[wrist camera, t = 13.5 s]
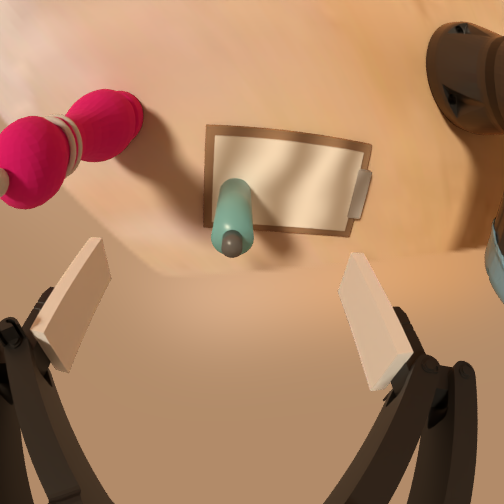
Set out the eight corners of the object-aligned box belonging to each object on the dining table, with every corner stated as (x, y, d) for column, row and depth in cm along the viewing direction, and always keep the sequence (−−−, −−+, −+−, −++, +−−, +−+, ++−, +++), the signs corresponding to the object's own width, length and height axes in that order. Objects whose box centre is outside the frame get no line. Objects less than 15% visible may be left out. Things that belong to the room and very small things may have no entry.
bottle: (244, 173, 30) (245, 223, 21) (254, 201, 32) (260, 259, 22) (214, 184, 30) (202, 237, 21) (226, 210, 32) (219, 271, 23)
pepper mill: (149, 146, 28) (46, 248, 12) (93, 151, 28) (-26, 246, 12) (147, 82, 24) (16, 109, 8) (88, 91, 24) (-54, 140, 7)
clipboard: (373, 144, 29) (377, 147, 28) (350, 234, 35) (353, 240, 34) (206, 124, 27) (205, 126, 26) (204, 224, 34) (202, 230, 33)
